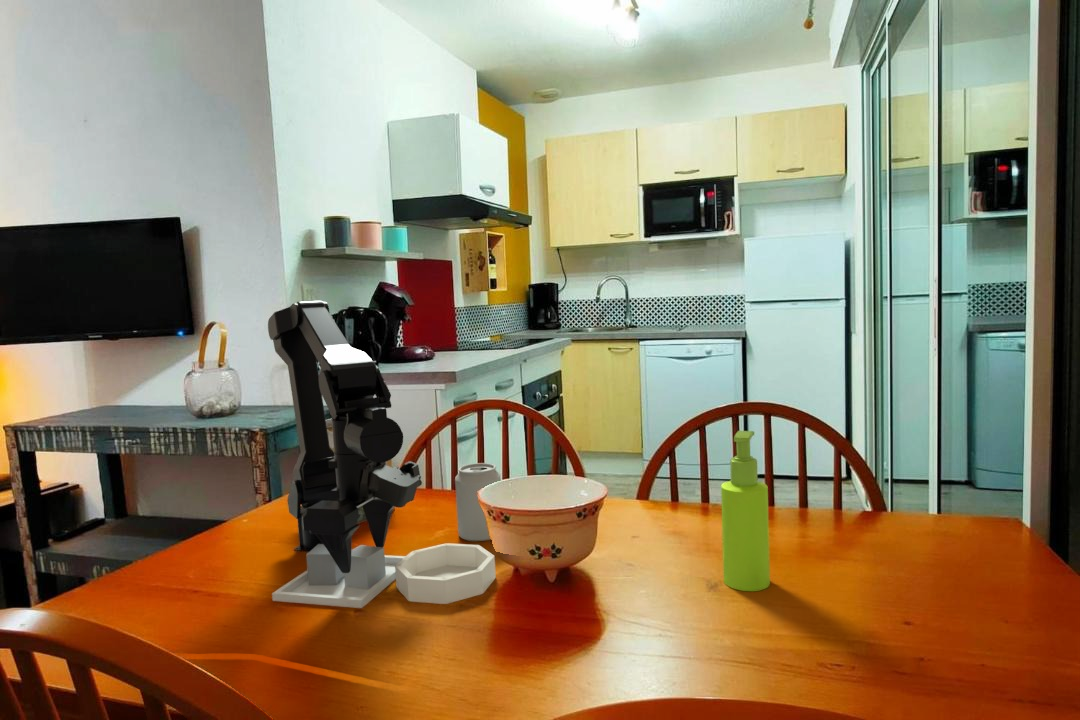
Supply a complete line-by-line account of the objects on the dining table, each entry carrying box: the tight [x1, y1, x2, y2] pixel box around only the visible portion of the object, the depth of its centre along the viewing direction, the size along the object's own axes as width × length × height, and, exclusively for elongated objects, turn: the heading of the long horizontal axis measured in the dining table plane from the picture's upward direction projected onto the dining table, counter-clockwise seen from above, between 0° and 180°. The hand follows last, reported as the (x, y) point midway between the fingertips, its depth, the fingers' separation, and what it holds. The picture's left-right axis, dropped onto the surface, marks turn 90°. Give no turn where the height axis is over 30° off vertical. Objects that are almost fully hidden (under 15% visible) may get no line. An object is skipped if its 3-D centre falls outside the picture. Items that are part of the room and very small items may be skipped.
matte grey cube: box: [305, 544, 344, 586], centre depth 97 cm, size 4×4×4 cm
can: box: [454, 462, 502, 543], centre depth 112 cm, size 8×8×12 cm
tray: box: [271, 554, 407, 609], centre depth 96 cm, size 13×15×2 cm
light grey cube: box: [344, 544, 386, 590], centre depth 95 cm, size 4×4×4 cm
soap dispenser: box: [720, 430, 771, 592], centre depth 90 cm, size 6×7×20 cm
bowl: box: [395, 542, 497, 605], centre depth 94 cm, size 13×13×4 cm
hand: (363, 559), depth 95 cm, fingers open, 9 cm apart
